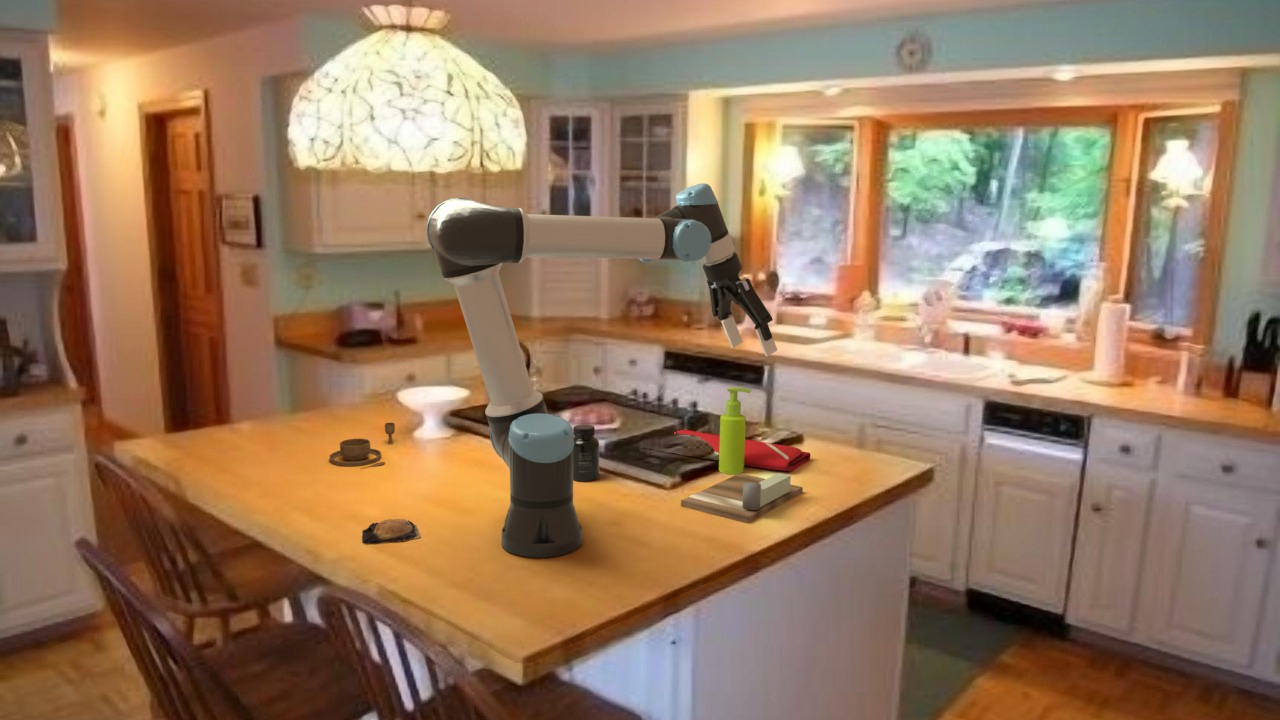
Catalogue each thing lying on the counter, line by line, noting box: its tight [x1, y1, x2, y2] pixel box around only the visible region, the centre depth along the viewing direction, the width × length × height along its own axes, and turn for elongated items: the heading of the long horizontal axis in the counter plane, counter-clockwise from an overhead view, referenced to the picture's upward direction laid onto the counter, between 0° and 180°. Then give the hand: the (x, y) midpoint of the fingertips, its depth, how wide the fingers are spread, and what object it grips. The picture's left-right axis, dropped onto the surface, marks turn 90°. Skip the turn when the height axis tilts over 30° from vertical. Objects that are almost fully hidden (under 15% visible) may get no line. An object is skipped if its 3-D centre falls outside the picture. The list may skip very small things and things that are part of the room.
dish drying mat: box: [674, 428, 811, 472], centre depth 235 cm, size 16×41×4 cm, turn 58°
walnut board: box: [680, 473, 804, 524], centre depth 202 cm, size 24×16×1 cm, turn 143°
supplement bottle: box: [573, 423, 600, 482], centre depth 214 cm, size 7×7×12 cm
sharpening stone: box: [742, 472, 791, 510], centre depth 197 cm, size 16×4×5 cm, turn 143°
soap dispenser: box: [718, 386, 752, 475], centre depth 220 cm, size 6×7×20 cm
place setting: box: [329, 422, 396, 470], centre depth 229 cm, size 18×20×6 cm
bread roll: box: [361, 518, 422, 546], centre depth 179 cm, size 11×8×4 cm
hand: (753, 349), depth 200 cm, fingers open, 13 cm apart
